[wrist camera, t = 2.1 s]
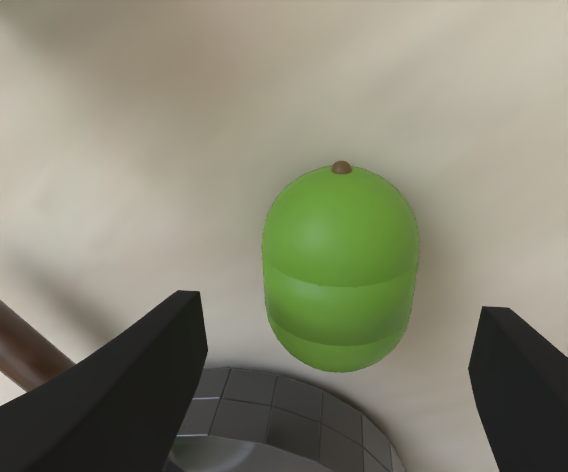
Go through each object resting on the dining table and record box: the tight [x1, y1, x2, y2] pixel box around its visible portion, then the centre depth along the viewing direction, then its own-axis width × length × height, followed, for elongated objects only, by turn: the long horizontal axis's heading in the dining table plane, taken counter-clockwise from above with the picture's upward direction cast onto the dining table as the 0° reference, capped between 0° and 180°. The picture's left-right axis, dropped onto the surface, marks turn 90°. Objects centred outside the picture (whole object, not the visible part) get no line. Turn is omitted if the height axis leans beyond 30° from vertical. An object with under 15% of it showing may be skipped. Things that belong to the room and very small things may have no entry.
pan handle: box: [0, 300, 76, 392], centre depth 17 cm, size 9×2×2 cm, turn 38°
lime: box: [262, 161, 419, 372], centre depth 14 cm, size 8×5×5 cm, turn 1°
